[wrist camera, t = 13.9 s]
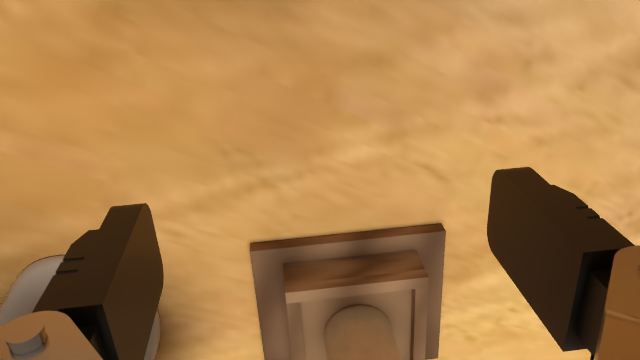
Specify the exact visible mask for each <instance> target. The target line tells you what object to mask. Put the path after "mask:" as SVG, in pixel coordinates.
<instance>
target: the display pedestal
mask: <svg viewBox="0 0 640 360" xmlns="http://www.w3.org/2000/svg"><path fill="white" fill-rule="evenodd" d="M445 235H446V231H445V229H444V227H443V226H442V224H432V225H423V226H413V227H403V228H394V229H384V230H375V231H365V232H355V233H346V234H336V235H327V236H317V237H307V238H298V239H288V240H278V241H269V242H259V243H250V254H251V261H252V269H253V276H254V284H255V291H256V298H257V306H258V313H259V320H260V328H261V335H262V343H263V350H264V357H265V360H328V359H327V353H326V347H325V339H324V332H325V327H326V325H327V323H328V321H329V320H330V319H331V317H332V316H333V315H335V314H336V313H337V312H339V311H340V310H342V309H344V308H347V307H351V306H356V305H366V306H371V307H374V308H376V309H378V310H380V311H381V312H382V313H383V314H384V315H385V316H386V317H387V319H388V321H389V323H390V326H391V328H392V331H393V334H394V337H395V340H396V343H397V346H398V349H399V352H400V355H401V358H402V360H427V359H435V358H438V349H439V333H440V317H441V300H442V284H443V268H444V251H445Z"/></svg>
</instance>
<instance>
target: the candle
mask: <svg viewBox="0 0 640 360" xmlns="http://www.w3.org/2000/svg"><path fill="white" fill-rule="evenodd" d="M324 339H325V347H326V353H327V359H328V360H402V358H401V355H400V352H399V349H398V346H397V343H396V340H395V337H394V334H393V331H392V328H391V326H390V323H389V321H388V319H387V317H386V316H385V315H384V314H383V313H382V312H381V311H380V310H378V309H376V308H374V307H371V306H366V305H356V306H351V307H347V308H344V309H342V310H340V311H339V312H337V313H336V314H335V315H333V316H332V317H331V319H330V320H329V321H328V323H327V325H326V327H325V332H324Z"/></svg>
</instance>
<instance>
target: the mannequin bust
mask: <svg viewBox="0 0 640 360" xmlns="http://www.w3.org/2000/svg"><path fill="white" fill-rule="evenodd" d="M64 256H65V255H59V256H52V257H47V258H44V259H41V260H38V261H36V262H34V263H32V264H31V265H29V266H28V267H27V268H26V269H24V270H23V271H22V272H21V274H20V275H19V276H18V277H17V279H16V280H15V282H14V283H13V285H12V287H11V289H10V291H9V293H8V294H7V297H6V299H5V301H4V303H3V304H2V306H1V308H0V327H2V326H3V325H5V324H7V323H8V322H10V321H12V320H14V319H16V318H19V317H21V316H24V315H27V314H30V313H32V311H33V309H34V308H35V306H36V304H37V303H38V301H39V299H40V297H41V296H42V294H43V292H44V291H45V289H46V287H47V285H48V284H49V282H50V280H51V279H52V277H53V275H56V270H57V268H58V267H59V265H60V263H61V262H63V258H64ZM160 334H161V326H160V318H159V313H158V310H157V311H156V315H155V319H154V323H153V326H152V330H151V334H150V338H149V342H148V345H147V349H146V353H145V357H144V360H154V359H155V357H156V354H157V351H158V348H159V343H160Z"/></svg>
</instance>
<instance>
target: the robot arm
mask: <svg viewBox="0 0 640 360" xmlns="http://www.w3.org/2000/svg"><path fill="white" fill-rule="evenodd" d="M487 237H488V242H489V246H490V249H491V251H492V253H493V254H494V256H495V257H496V259H497V260H498V261H499V263H500V264H501V266H502V267H503V268H504V270H505V271H506V272H507V274H508V275H509V277H510V278H511V279H512V281H513V282H514V284H515V285H516V286H517V288H518V289H519V291H520V292H521V293H522V295H523V296H524V298H525V299H526V300H527V302H528V303H529V305H530V306H531V307H532V309H533V310H534V312H535V313H536V314H537V316H538V317H539V319H540V320H541V321H542V323H543V324H544V325H545V327H546V328H547V330H548V331H549V332H550V334H551V335H552V337H553V338H554V339H555V341H556V342H557V344H558V345H559V346H560V348H561V349H562V351H563V352H564V351H572V350H580V349H588V350H589V351H590V353H591V357H590V360H640V246H635V245H634V244H632V243H631V242H630V241H629V240H628V239H627V238H625V237H624V236H623V235H622V234H621V233H619V232H618V231H617V230H616V229H615V228H614V227H612V226H611V225H610V224H609V223H608V222H606V221H605V220H604V219H603V218H600V216H599V215H598V214H597V213H596V212H595V211H594V210H592V209H591V208H588V205H586V204H585V203H584V202H583V201H582V200H581V199H579V198H578V197H577V196H576V195H575V194H573V193H571V192H568V191H566V190H564V189H562V188H560V187H557V186H555V185H550V184H549V183H548V182H547V181H545V180H544V179H543V178H542V177H541V176H540V175H539V174H538V173H536V172H535V171H534V170H533V169H532V168H530V167H522V168H511V169H501V170H496V171H495V173H494V175H493V178H492V184H491V194H490V204H489V214H488V223H487ZM162 288H163V264H162V259H161V254H160V250H159V246H158V241H157V237H156V232H155V228H154V224H153V219H152V215H151V211H150V208H149V206H148V205H147V204H146V203H144V204H133V205H123V206H113V207H111V208H110V210H109V212H108V214H107V215H106V217H105V219H104V221H103V223H102V225H101V227H100V229H99V230H89V231H87V232H86V233H85V234H84V235H82V236H81V237H80V238H79V239H78V240H76V241H75V242H74V243H73V244H71V246H70V248H69V249H68V251H67V253H66V255H65V256H64V258H63V262H61V263H60V265H59V267H58V268H57V270H56V275H53V277H52V279H51V280H50V282H49V284H48V285H47V287H46V289H45V291H44V292H43V294H42V296H41V297H40V299H39V301H38V303H37V304H36V306H35V308H34V309H33V311H32V313H30V314H27V315H24V316H21V317H19V318H16V319H14V320H12V321H10V322H8V323H7V324H5V325H3V326H2V327H0V360H144V357H145V353H146V349H147V345H148V342H149V338H150V334H151V330H152V326H153V323H154V319H155V315H156V311H157V307H158V303H159V300H160V296H161V292H162Z"/></svg>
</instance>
